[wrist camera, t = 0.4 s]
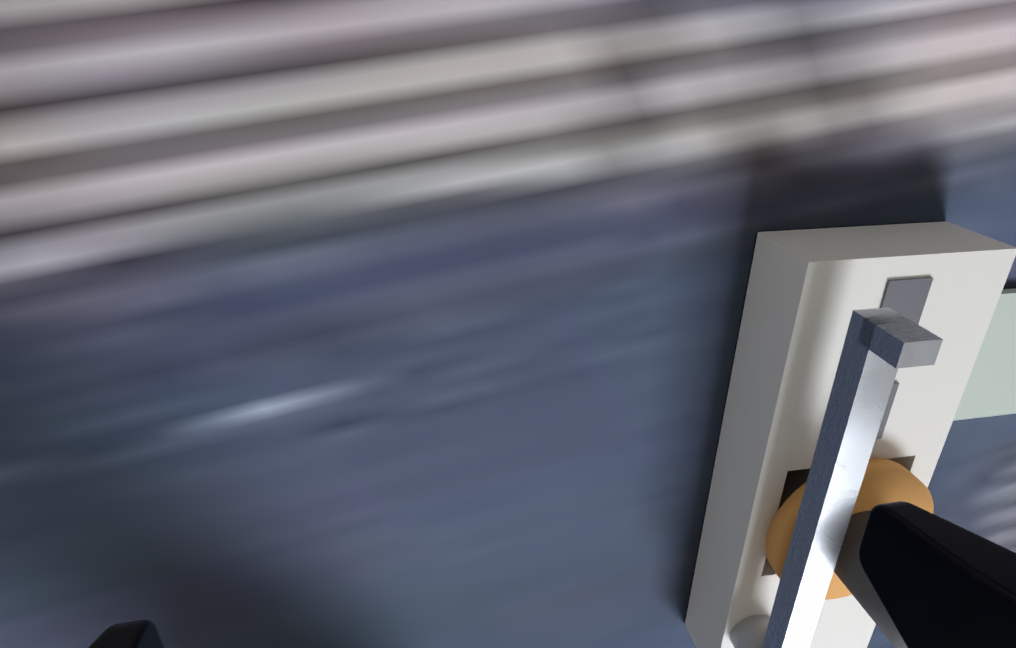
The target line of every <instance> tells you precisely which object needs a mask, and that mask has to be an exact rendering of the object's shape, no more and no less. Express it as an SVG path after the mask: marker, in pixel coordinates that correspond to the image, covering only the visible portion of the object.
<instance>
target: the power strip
mask: <svg viewBox="0 0 1016 648" xmlns="http://www.w3.org/2000/svg"><path fill="white" fill-rule="evenodd" d="M1015 256H1016V247H1013V246H1010V245H1008V244H1005V243H1002V242H1000V241H997V240H995V239H992V238H989V237H987V236H984V235H981V234H979V233H976V232H973V231H971V230H968V229H965V228H963V227H960V226H958V225H955V224H952V223H950V222H947V221H945V222H927V223H909V224H891V225H874V226H856V227H838V228H820V229H803V230H785V231H767V232H758V234H757V240H756V245H755V250H754V256H753V261H752V266H751V272H750V277H749V283H748V288H747V293H746V299H745V304H744V309H743V315H742V320H741V325H740V331H739V336H738V341H737V347H736V352H735V358H734V363H733V368H732V374H731V379H730V384H729V390H728V395H727V400H726V406H725V411H724V417H723V422H722V427H721V433H720V438H719V443H718V449H717V454H716V459H715V465H714V470H713V476H712V481H711V486H710V492H709V497H708V502H707V508H706V513H705V518H704V524H703V529H702V535H701V540H700V545H699V551H698V556H697V561H696V567H695V572H694V577H693V583H692V588H691V594H690V599H689V604H688V610H687V615H686V620H685V626H686V628H687V630H688V632H689V634H690V636H691V638H692V640H693V642H694V644H695V646H696V648H762V645H763V641H764V637H765V633H766V630H767V626H768V622H769V619H770V615H771V611H772V608H773V604H774V600H775V596H776V593H777V589H778V585H779V582H780V579H779V577H778V576H777V574H776V573H775V571H774V570H773V569H772V567H771V566H770V564H769V562H768V559H767V556H766V537H767V533H768V530H769V527H770V525H771V522H772V520H773V518H774V517H775V515H776V513H777V512H778V508H779V504H780V500H781V496H782V492H783V488H784V484H785V480H786V476H787V472H788V471H793V470H801V469H809V468H810V467H811V463H812V460H813V456H814V452H815V449H816V445H817V441H818V437H819V434H820V430H821V426H822V423H823V419H824V415H825V412H826V408H827V404H828V400H829V397H830V393H831V389H832V386H833V382H834V378H835V375H836V371H837V367H838V363H839V360H840V356H841V352H842V349H843V345H844V341H845V338H846V334H847V330H848V327H849V323H850V319H851V315H852V312H853V310H861V309H873V308H886V307H889V308H891V309H892V310H894V311H896V312H898V313H899V314H901V315H903V316H904V317H906V318H908V319H909V320H911V321H913V322H915V323H916V324H918V325H920V326H921V327H923V328H925V329H926V330H928V331H930V332H932V333H933V334H935V335H937V336H938V337H940V338H942V339H943V341H942V344H941V347H940V350H939V353H938V356H937V358H936V361H935V364H934V365H928V366H918V367H908V368H898V371H897V374H896V377H895V380H894V383H893V387H892V390H891V393H890V396H889V399H888V402H887V405H886V409H885V412H884V415H883V418H882V421H881V424H880V427H879V430H878V434H877V437H876V440H875V443H874V446H873V449H872V452H871V455H870V458H883V459H888V460H892V461H894V462H897V463H899V464H901V465H902V466H904V467H905V468H906V469H907V470H909V471H910V472H911V473H912V474H913V475H914V476H915V477H917V478H918V479H919V480H920V481H921V482H922V483H923V484H924V485H925V486H926V487H927V488H928V485H929V482H930V480H931V477H932V474H933V472H934V469H935V467H936V464H937V461H938V459H939V456H940V453H941V451H942V448H943V445H944V443H945V440H946V438H947V435H948V432H949V430H950V427H951V424H952V422H953V419H954V416H955V414H956V411H957V409H958V406H959V403H960V401H961V398H962V395H963V393H964V390H965V387H966V385H967V382H968V380H969V377H970V374H971V372H972V369H973V366H974V364H975V361H976V358H977V356H978V353H979V351H980V348H981V345H982V343H983V340H984V337H985V335H986V332H987V329H988V327H989V324H990V322H991V319H992V316H993V314H994V311H995V308H996V306H997V303H998V300H999V298H1000V295H1001V292H1002V290H1003V287H1004V285H1005V282H1006V279H1007V277H1008V274H1009V271H1010V269H1011V266H1012V263H1013V261H1014V258H1015ZM875 625H876V623H875V622H874V621H873V620H872V618H871V617H870V616H869V615H868V613H867V612H866V611H865V610H864V608H863V607H862V606H861V605H860V604H859V602H858V601H857V600H856V599H855V597H854V596H853V595H849V596H846V597H842V598H837V599H829V600H824V603H823V606H822V609H821V612H820V615H819V618H818V621H817V625H816V628H815V631H814V634H813V637H812V640H811V643H810V646H809V648H867V646H868V643H869V641H870V638H871V635H872V633H873V630H874V627H875Z"/></svg>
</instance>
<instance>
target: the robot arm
mask: <svg viewBox="0 0 1016 648" xmlns="http://www.w3.org/2000/svg"><path fill="white" fill-rule="evenodd" d="M859 560H860V563H861V566H862V568H863V570H864V572H865V574H866V576H867V577H868V579H869V581H870V583H871V584H872V586H873V588H874V590H875V591H876V593H877V595H878V597H879V599H880V600H881V602H882V604H883V606H884V607H885V609H886V611H887V613H888V614H889V616H890V618H891V620H892V621H893V623H894V625H895V627H896V628H897V630H898V632H899V634H900V636H901V637H902V639H903V641H904V643H905V644H906V646H907V648H1016V553H1014V552H1012V551H1010V550H1008V549H1006V548H1004V547H1002V546H1000V545H998V544H996V543H993V542H991V541H989V540H987V539H985V538H983V537H981V536H979V535H977V534H974V533H972V532H970V531H968V530H966V529H964V528H962V527H960V526H958V525H955V524H953V523H951V522H949V521H947V520H945V519H943V518H941V517H939V516H937V515H934V514H932V513H930V512H928V511H926V510H924V509H922V508H920V507H918V506H915V505H913V504H911V503H909V502H904V501H898V502H891V503H885V504H879V505H876V506H875V507H873V508H872V510H871V511H870V513H869V517H868V520H867V523H866V526H865V530H864V533H863V536H862V539H861V543H860V546H859ZM88 648H164V646H163V644H162V641H161V639H160V636H159V633H158V631H157V628H156V626H155V625H154V623H153V622H151V621H150V620H139V621H133V622H126V623H120V624H115V625H113V626H111V627H109V628H108V629H106V630H105V631H104V632H103V633H102V634H101V635H100V636H99V637H98V638H97V639H96V640H95V641H94V642H93V643H92V644H91V645H90V646H89V647H88Z"/></svg>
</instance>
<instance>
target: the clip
mask: <svg viewBox="0 0 1016 648" xmlns="http://www.w3.org/2000/svg"><path fill="white" fill-rule="evenodd" d="M942 341H943V339H942V338H940V337H938V336H937V335H935V334H933V333H932V332H930V331H928V330H926V329H925V328H923V327H921V326H920V325H918V324H916V323H915V322H913V321H911V320H909V319H908V318H906V317H904V316H903V315H901V314H899V313H898V312H896V311H894V310H892V309H891V308H889V307H886V308H873V309H861V310H853V312H852V315H851V319H850V323H849V327H848V330H847V334H846V338H845V341H844V345H843V349H842V352H841V356H840V360H839V363H838V367H837V371H836V375H835V378H834V382H833V386H832V389H831V393H830V397H829V400H828V404H827V408H826V412H825V415H824V419H823V423H822V426H821V430H820V434H819V437H818V441H817V445H816V449H815V452H814V456H813V460H812V463H811V467H810V471H809V474H808V478H807V482H806V486H805V489H804V493H803V497H802V500H801V504H800V508H799V511H798V515H797V519H796V522H795V526H794V530H793V534H792V537H791V541H790V545H789V548H788V552H787V556H786V559H785V563H784V567H783V571H782V574H781V578H780V582H779V585H778V589H777V593H776V596H775V600H774V604H773V608H772V611H771V615H770V619H769V622H768V626H767V630H766V633H765V637H764V641H763V645H762V648H809V646H810V643H811V640H812V637H813V634H814V631H815V628H816V625H817V621H818V618H819V615H820V612H821V609H822V606H823V603H824V599H825V596H826V593H827V590H828V587H829V584H830V581H831V578H832V574H833V571H834V568H835V565H836V562H837V559H838V556H839V553H840V549H841V546H842V543H843V540H844V537H845V534H846V531H847V527H848V524H849V521H850V518H851V515H852V512H853V509H854V506H855V502H856V499H857V496H858V493H859V490H860V487H861V484H862V481H863V477H864V474H865V471H866V468H867V465H868V462H869V459H870V455H871V452H872V449H873V446H874V443H875V440H876V437H877V434H878V430H879V427H880V424H881V421H882V418H883V415H884V412H885V409H886V405H887V402H888V399H889V396H890V393H891V390H892V387H893V383H894V380H895V377H896V374H897V371H898V368H908V367H918V366H928V365H934V364H935V361H936V358H937V356H938V353H939V350H940V347H941V344H942Z"/></svg>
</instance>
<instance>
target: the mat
mask: <svg viewBox="0 0 1016 648" xmlns="http://www.w3.org/2000/svg"><path fill="white" fill-rule="evenodd" d="M1014 413H1016V288H1014V289H1003V290H1002V292H1001V295H1000V298H999V300H998V303H997V306H996V308H995V311H994V314H993V316H992V319H991V322H990V324H989V327H988V329H987V332H986V335H985V337H984V340H983V343H982V345H981V348H980V351H979V353H978V356H977V358H976V361H975V364H974V366H973V369H972V372H971V374H970V377H969V380H968V382H967V385H966V387H965V390H964V393H963V395H962V398H961V401H960V403H959V406H958V409H957V411H956V414H955V416H954V419H953V420H962V419H971V418H979V417H988V416H997V415H1005V414H1014Z"/></svg>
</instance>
